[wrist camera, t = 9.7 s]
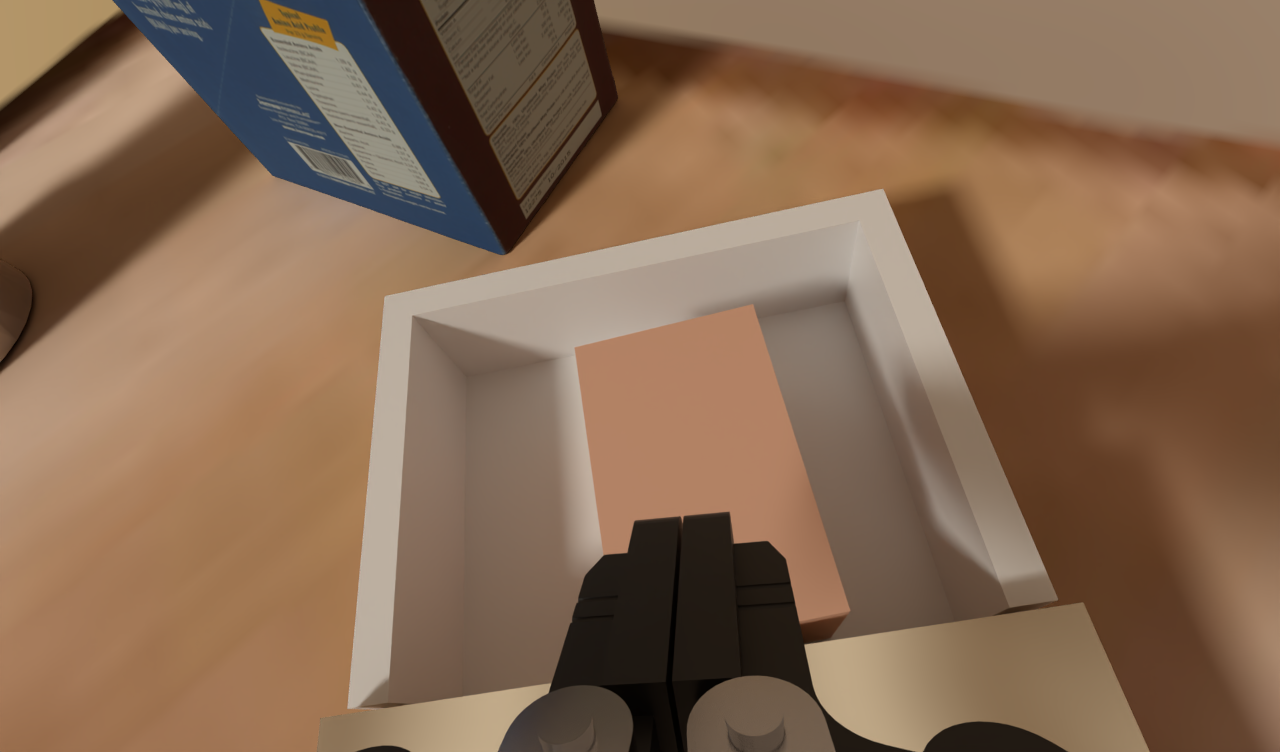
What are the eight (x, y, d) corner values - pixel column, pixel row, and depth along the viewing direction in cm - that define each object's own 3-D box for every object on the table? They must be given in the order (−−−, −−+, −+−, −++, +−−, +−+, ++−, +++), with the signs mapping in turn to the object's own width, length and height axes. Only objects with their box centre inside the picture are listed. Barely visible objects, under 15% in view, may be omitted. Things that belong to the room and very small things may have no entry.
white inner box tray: (442, 711, 19) (347, 708, 15) (450, 369, 25) (384, 296, 21) (988, 629, 18) (1058, 599, 13) (862, 286, 24) (882, 188, 19)
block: (617, 658, 14) (574, 347, 18) (654, 673, 18) (612, 421, 22) (850, 610, 13) (753, 304, 17) (830, 638, 18) (756, 387, 22)
